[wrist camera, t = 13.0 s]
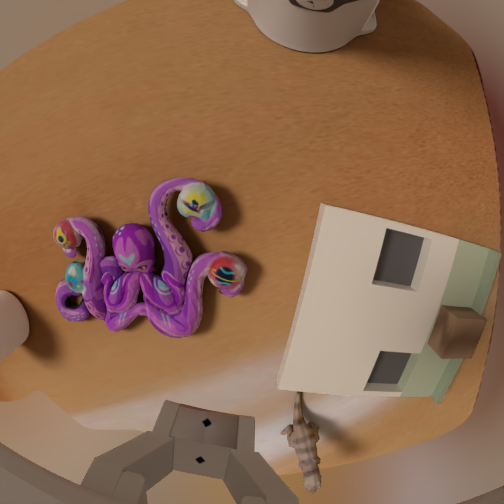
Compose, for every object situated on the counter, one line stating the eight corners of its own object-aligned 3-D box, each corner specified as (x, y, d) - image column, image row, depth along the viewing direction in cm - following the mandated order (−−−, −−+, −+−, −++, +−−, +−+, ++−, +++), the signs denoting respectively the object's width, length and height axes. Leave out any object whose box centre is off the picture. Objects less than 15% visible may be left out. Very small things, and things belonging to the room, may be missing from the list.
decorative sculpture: (253, 326, 41) (242, 171, 35) (251, 346, 36) (239, 173, 31) (73, 322, 43) (45, 197, 37) (58, 337, 38) (25, 202, 32)
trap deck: (320, 203, 36) (329, 206, 32) (483, 246, 37) (501, 253, 32) (276, 378, 42) (278, 397, 38) (429, 387, 43) (440, 403, 38)
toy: (307, 480, 41) (300, 503, 32) (265, 397, 49) (250, 404, 40) (346, 464, 41) (347, 485, 32) (303, 379, 48) (296, 384, 39)
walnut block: (441, 304, 36) (457, 318, 32) (470, 307, 36) (486, 319, 32) (427, 343, 38) (441, 359, 33) (456, 343, 38) (471, 358, 33)
